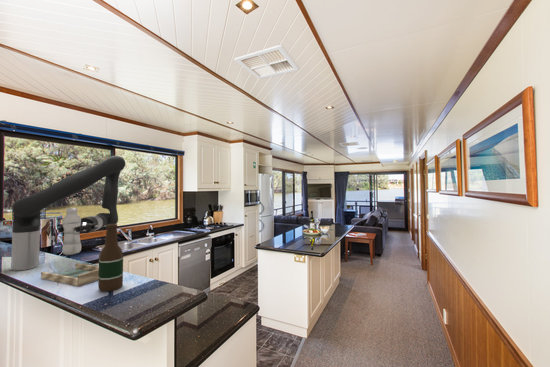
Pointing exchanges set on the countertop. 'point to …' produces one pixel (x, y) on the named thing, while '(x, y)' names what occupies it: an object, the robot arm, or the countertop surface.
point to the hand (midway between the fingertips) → (68, 229)
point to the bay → (75, 275)
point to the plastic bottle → (71, 232)
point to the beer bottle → (110, 262)
